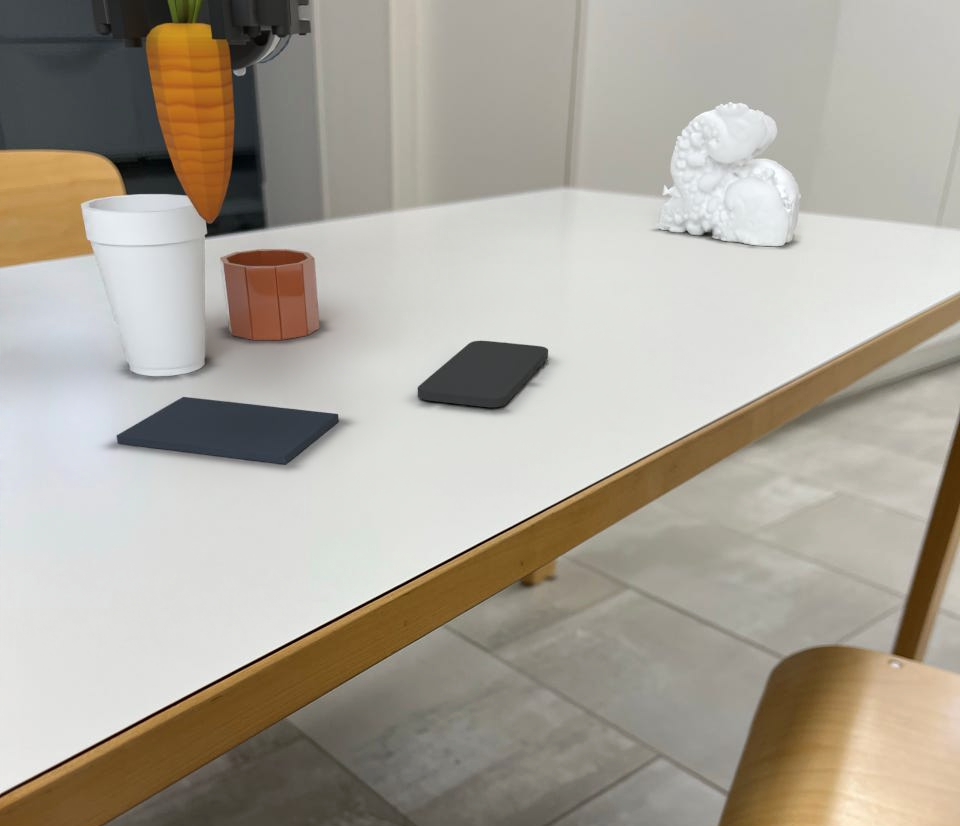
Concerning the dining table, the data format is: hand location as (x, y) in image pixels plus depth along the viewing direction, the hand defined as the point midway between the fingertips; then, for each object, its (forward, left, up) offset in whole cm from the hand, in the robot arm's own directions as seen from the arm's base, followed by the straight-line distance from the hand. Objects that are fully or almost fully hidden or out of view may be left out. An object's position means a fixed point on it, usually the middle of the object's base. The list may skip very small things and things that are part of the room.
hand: (166, 11), depth 57 cm
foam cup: (-15, +17, -26) cm, 35 cm away
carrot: (-2, +5, -12) cm, 13 cm away
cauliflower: (+26, +96, -26) cm, 103 cm away
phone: (+13, +22, -26) cm, 36 cm away
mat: (-1, +4, -26) cm, 26 cm away
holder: (-11, +31, -26) cm, 42 cm away
